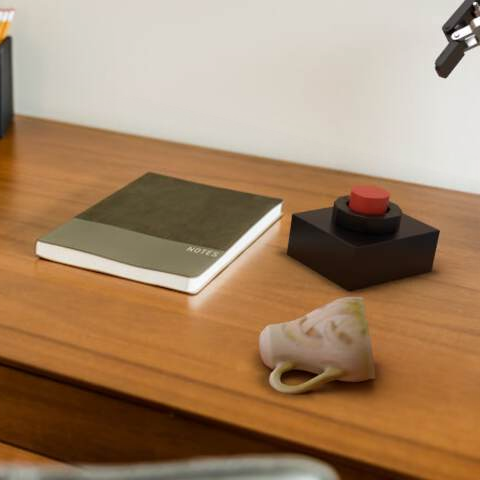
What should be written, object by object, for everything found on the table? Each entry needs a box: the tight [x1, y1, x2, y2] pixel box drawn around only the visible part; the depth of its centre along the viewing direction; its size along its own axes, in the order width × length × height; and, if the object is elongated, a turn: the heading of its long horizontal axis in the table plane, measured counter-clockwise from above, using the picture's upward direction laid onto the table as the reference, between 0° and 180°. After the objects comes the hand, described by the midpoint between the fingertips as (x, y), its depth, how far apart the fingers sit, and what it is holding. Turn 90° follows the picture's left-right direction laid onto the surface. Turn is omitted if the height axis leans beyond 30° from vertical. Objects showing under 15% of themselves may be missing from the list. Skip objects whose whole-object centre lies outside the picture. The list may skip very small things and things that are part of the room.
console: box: [286, 194, 441, 293], centre depth 97 cm, size 12×10×7 cm
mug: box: [258, 296, 376, 395], centre depth 76 cm, size 8×10×10 cm
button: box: [349, 184, 391, 214], centre depth 96 cm, size 4×4×2 cm
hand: (471, 84), depth 97 cm, fingers open, 8 cm apart
